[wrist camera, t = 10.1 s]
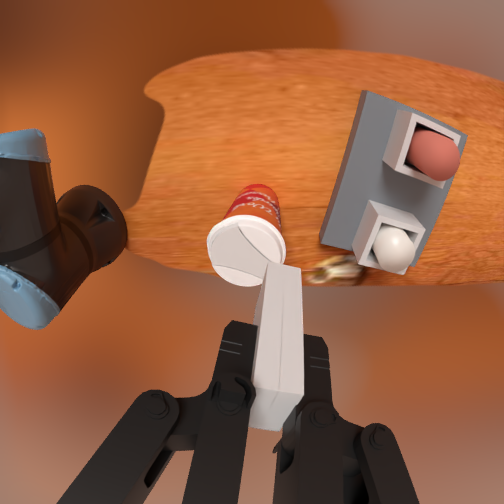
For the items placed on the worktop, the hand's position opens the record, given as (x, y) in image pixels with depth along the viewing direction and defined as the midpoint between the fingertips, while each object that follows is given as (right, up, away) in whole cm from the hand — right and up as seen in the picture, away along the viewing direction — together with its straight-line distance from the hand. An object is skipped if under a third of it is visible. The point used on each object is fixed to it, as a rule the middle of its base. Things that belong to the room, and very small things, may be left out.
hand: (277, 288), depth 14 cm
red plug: (+20, +15, +18) cm, 31 cm away
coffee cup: (0, +9, +29) cm, 31 cm away
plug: (+17, +5, +26) cm, 31 cm away
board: (+19, +12, +25) cm, 33 cm away
